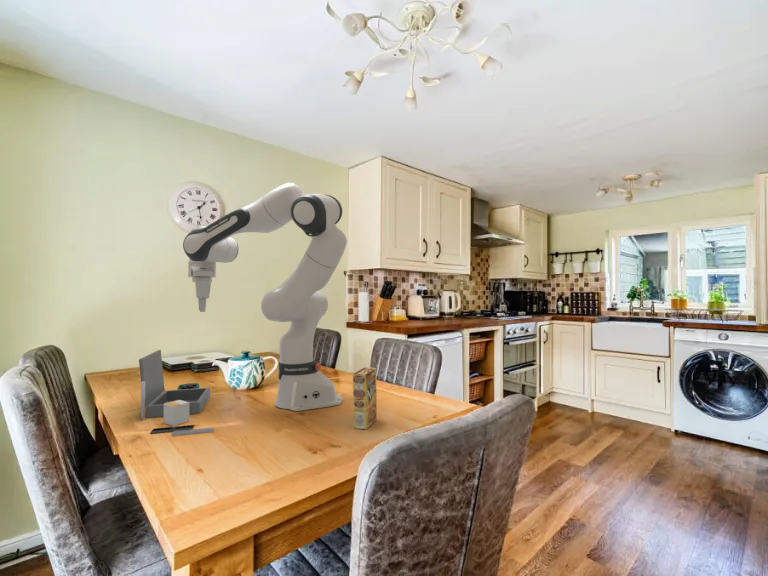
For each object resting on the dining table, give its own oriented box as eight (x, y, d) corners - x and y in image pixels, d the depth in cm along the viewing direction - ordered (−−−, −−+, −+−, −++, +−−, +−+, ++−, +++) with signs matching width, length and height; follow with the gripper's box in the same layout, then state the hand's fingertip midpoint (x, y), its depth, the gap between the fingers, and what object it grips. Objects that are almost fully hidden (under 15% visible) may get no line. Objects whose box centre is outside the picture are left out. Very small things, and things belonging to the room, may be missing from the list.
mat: (198, 418, 111) (198, 416, 111) (191, 430, 101) (191, 428, 101) (161, 421, 108) (161, 420, 108) (150, 434, 98) (150, 432, 98)
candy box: (366, 430, 101) (366, 374, 101) (352, 428, 102) (352, 373, 102) (377, 419, 109) (377, 367, 109) (363, 418, 110) (363, 366, 111)
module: (189, 423, 105) (189, 401, 105) (173, 428, 101) (173, 405, 101) (179, 420, 108) (179, 399, 108) (163, 425, 104) (163, 403, 104)
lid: (160, 349, 125) (156, 350, 125) (141, 359, 108) (137, 359, 107) (164, 390, 125) (160, 391, 125) (146, 406, 108) (141, 407, 108)
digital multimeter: (199, 389, 146) (199, 381, 146) (197, 399, 132) (197, 390, 132) (178, 391, 143) (178, 383, 143) (173, 401, 129) (173, 393, 129)
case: (210, 400, 129) (210, 366, 129) (198, 418, 110) (198, 378, 110) (161, 404, 125) (161, 368, 125) (140, 423, 106) (140, 382, 106)
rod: (213, 431, 101) (213, 427, 101) (213, 433, 100) (213, 428, 100) (172, 435, 98) (172, 431, 98) (171, 437, 97) (171, 433, 97)
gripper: (191, 273, 139) (191, 310, 139) (192, 270, 121) (192, 312, 121) (210, 273, 142) (210, 309, 142) (213, 271, 124) (213, 312, 124)
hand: (202, 311), depth 131 cm, fingers open, 8 cm apart
